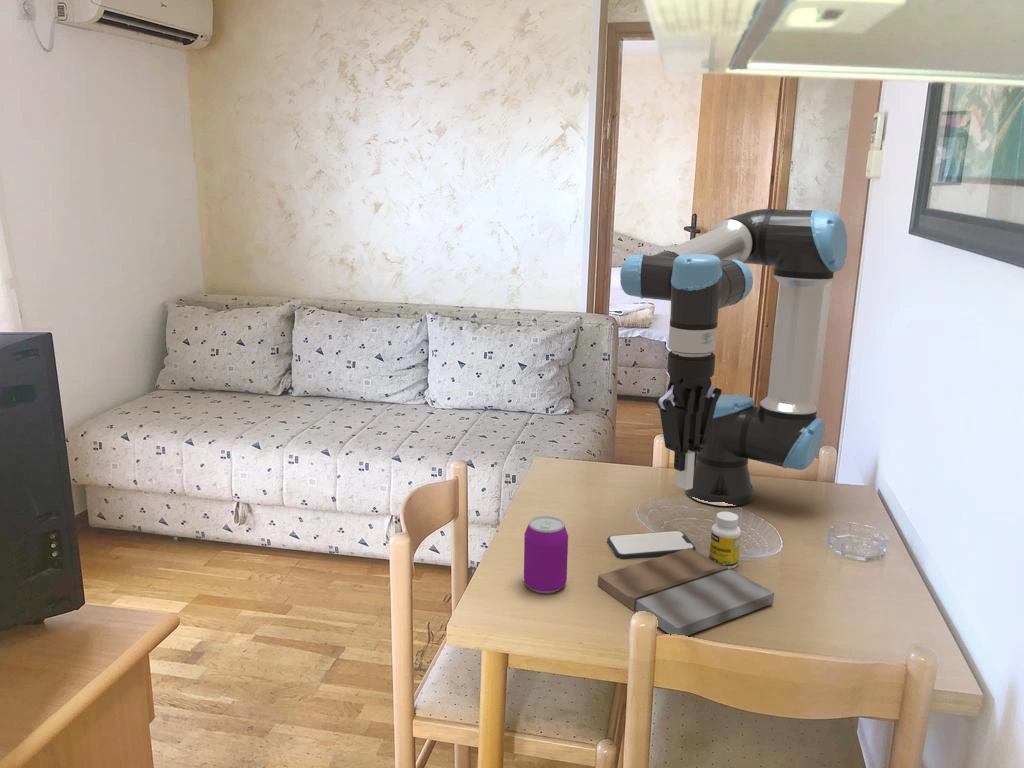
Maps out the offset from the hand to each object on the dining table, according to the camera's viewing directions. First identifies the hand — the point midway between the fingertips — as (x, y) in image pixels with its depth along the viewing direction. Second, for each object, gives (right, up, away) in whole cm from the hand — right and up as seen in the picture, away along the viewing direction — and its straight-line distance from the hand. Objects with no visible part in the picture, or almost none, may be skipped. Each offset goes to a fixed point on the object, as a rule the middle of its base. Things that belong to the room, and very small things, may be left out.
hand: (683, 486), depth 136 cm
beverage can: (-23, -19, +7) cm, 31 cm away
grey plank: (+4, -20, 0) cm, 21 cm away
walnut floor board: (-2, -18, +9) cm, 20 cm away
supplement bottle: (+11, -17, +16) cm, 26 cm away
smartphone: (-2, -16, +22) cm, 27 cm away
